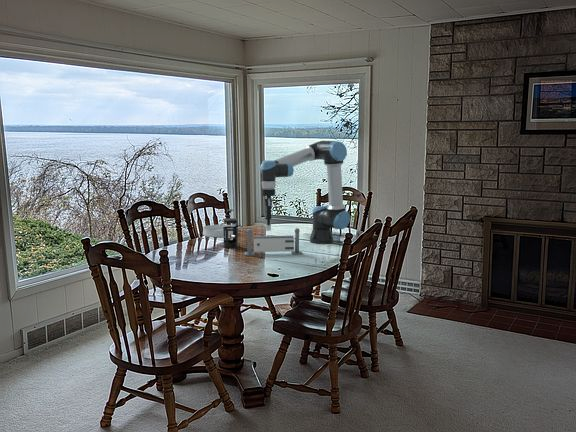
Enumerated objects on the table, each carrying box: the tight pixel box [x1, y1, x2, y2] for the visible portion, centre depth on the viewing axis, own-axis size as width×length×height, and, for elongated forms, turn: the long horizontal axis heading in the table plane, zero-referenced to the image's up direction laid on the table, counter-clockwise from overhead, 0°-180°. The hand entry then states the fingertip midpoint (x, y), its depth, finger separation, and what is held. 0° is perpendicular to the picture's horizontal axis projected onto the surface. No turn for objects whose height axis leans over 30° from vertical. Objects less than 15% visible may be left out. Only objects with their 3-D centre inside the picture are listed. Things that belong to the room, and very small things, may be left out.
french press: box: [222, 209, 239, 249], centre depth 327 cm, size 12×9×23 cm
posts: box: [243, 227, 304, 257], centre depth 308 cm, size 34×6×15 cm, turn 96°
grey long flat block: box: [253, 235, 295, 253], centre depth 308 cm, size 23×3×9 cm, turn 96°
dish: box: [202, 224, 233, 238], centre depth 367 cm, size 22×22×5 cm
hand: (268, 230), depth 300 cm, fingers closed
